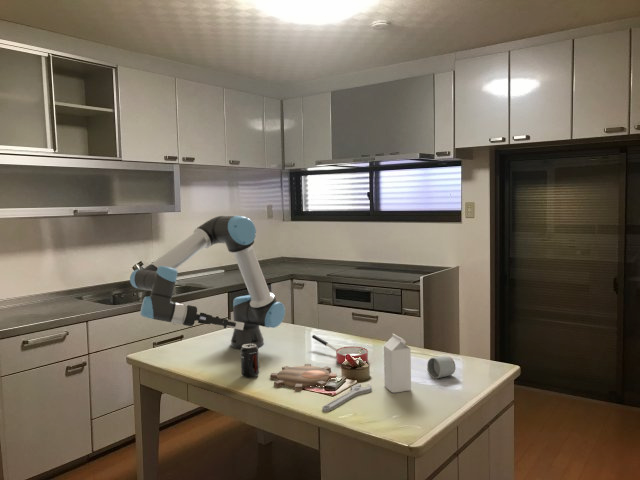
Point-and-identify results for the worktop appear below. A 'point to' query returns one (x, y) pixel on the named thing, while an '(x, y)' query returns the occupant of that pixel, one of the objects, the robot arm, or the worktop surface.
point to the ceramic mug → (441, 366)
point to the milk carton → (397, 365)
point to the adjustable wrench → (347, 396)
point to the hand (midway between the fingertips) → (238, 325)
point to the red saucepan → (345, 351)
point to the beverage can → (249, 360)
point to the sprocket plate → (302, 376)
